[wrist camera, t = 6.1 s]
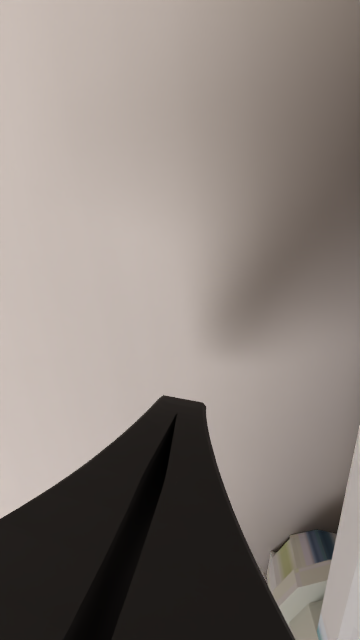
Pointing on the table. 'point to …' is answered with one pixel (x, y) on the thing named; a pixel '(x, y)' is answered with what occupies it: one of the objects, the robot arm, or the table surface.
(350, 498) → the white tube
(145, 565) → the robot arm
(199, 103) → the table surface
